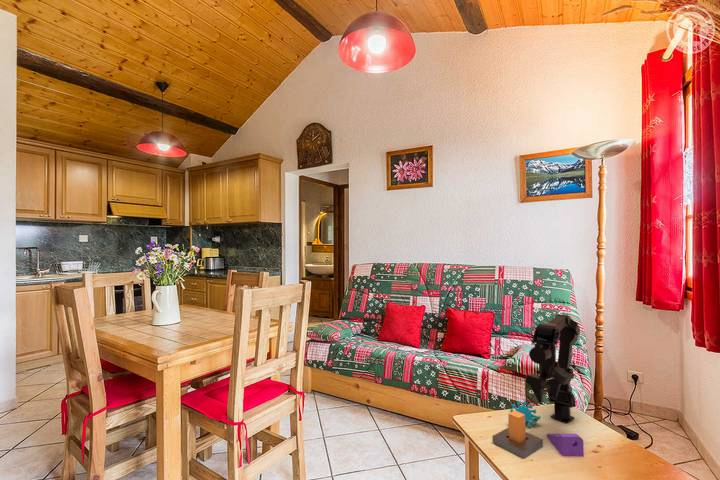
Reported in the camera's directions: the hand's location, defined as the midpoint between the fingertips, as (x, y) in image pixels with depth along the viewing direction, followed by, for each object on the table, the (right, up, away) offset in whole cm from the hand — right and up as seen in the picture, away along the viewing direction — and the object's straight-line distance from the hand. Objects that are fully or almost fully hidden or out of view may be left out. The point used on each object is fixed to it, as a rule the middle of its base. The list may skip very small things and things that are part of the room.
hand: (547, 400), depth 137 cm
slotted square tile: (-14, -13, -6) cm, 20 cm away
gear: (-5, -13, +8) cm, 16 cm away
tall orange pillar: (-14, -13, -6) cm, 20 cm away
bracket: (+2, -13, -8) cm, 16 cm away
